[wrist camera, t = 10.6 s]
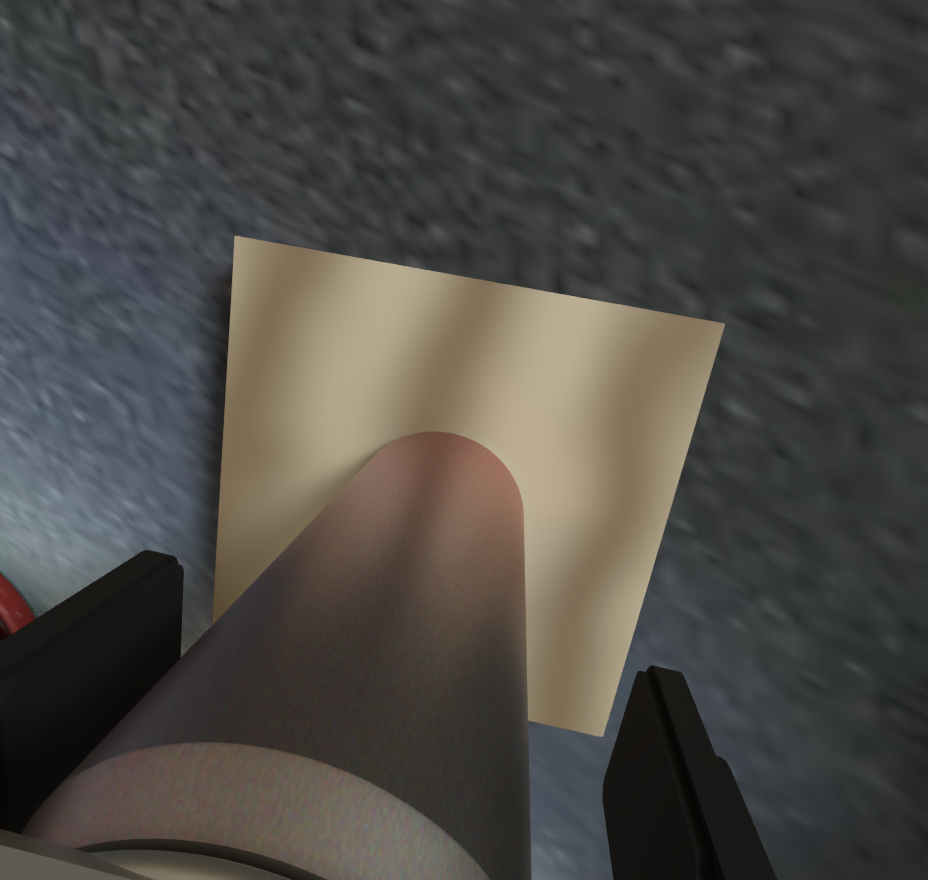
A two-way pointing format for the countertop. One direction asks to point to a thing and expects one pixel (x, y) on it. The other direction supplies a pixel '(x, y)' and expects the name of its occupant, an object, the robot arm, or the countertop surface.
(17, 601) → the plant pot
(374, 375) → the birch board
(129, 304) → the countertop surface
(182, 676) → the beverage can
